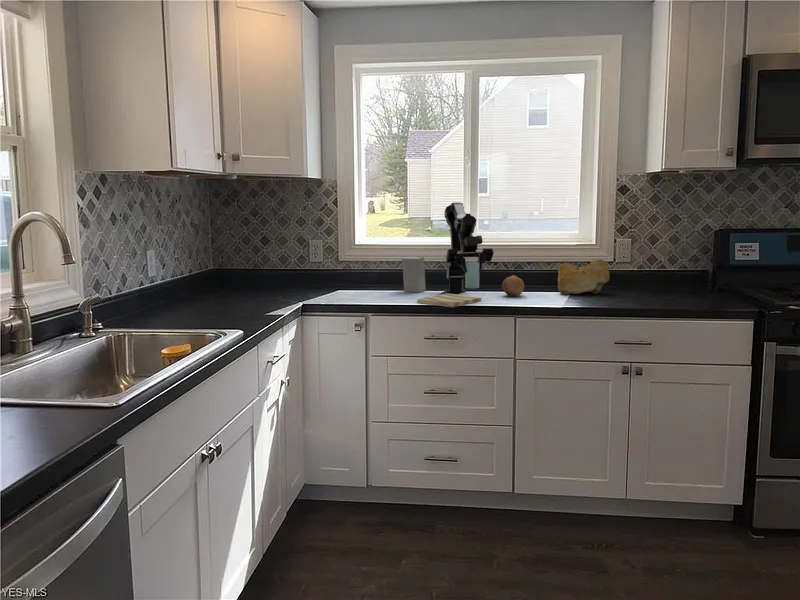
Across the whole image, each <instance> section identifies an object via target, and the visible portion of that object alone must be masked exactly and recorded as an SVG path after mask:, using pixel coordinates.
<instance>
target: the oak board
mask: <svg viewBox="0 0 800 600" xmlns="http://www.w3.org/2000/svg"><path fill="white" fill-rule="evenodd" d="M478 301H479V302H482V296H481V297H480V296H473V295H464V294H458V293H449V292H447V293H442V294H436V295H431V296H425V297H420V298H417V303H418V304H423V303H425V304H426V305H431V304H432V305H434V306H439V307H440V306H441V307H448V308H456V307H461V306H464V305H465V304H466V305H469V303H470V304H474V303H478ZM473 302H474V303H473ZM466 305H465V306H466Z"/></svg>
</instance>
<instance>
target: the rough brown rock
mask: <svg viewBox="0 0 800 600" xmlns="http://www.w3.org/2000/svg"><path fill="white" fill-rule="evenodd" d="M557 269H558V275H557V289H558V292H559V293H560V294H564V295H568V294H570V295H571V294H572V295H578V294H582V293H592V294H599V293H600V291H602V287H603V286H604V285H605V284H606V283H608V282H609V281H610V278H611V277H610V268H609V265H608V264H607V263H606V261H605V260H604V259H593V260H591V261H590V263H588V264H587V265H585V266H581V267H580V266H579V267H576V266H575V265H572V264H571V263H569V262H568V263H567V262H566V263H565V262H564V263H561V264H559V265H558V267H557Z"/></svg>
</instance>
